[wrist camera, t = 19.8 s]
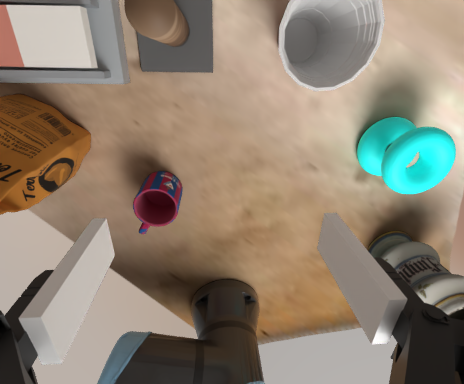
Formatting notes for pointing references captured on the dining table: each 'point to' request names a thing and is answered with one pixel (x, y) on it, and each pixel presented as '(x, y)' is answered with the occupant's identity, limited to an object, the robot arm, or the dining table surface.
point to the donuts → (406, 154)
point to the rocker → (45, 37)
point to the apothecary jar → (422, 271)
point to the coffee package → (36, 151)
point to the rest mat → (192, 52)
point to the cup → (158, 200)
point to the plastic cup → (329, 40)
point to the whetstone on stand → (104, 41)
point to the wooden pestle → (158, 21)
